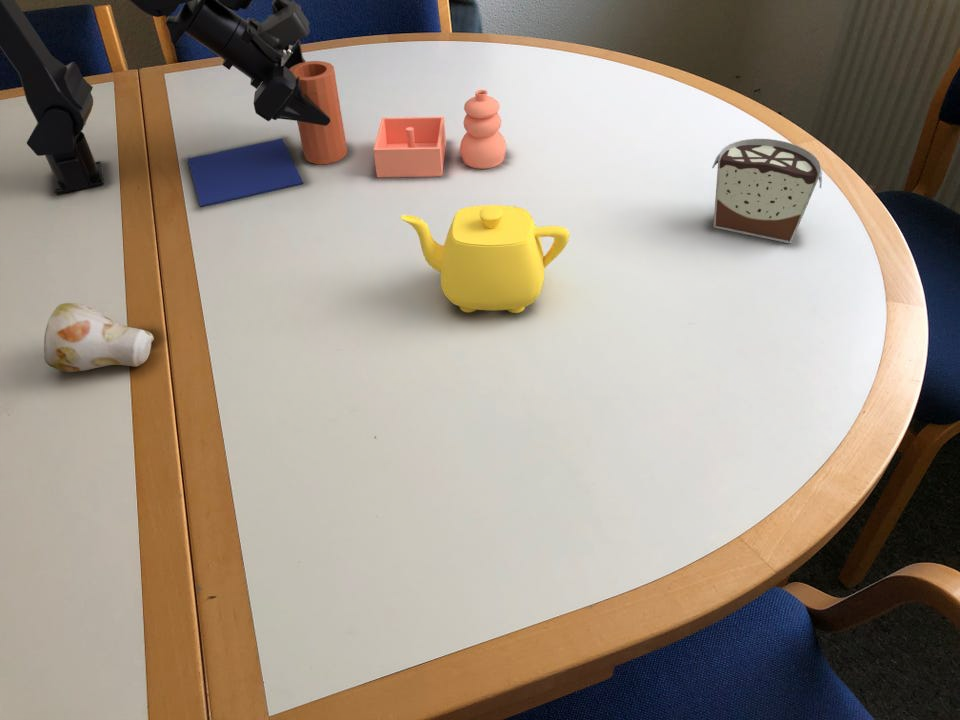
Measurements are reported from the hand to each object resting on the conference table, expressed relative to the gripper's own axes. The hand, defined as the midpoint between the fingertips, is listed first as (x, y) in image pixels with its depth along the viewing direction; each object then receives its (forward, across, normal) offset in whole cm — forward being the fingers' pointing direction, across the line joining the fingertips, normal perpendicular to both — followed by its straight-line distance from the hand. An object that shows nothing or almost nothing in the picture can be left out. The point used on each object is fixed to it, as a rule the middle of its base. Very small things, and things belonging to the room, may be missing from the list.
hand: (328, 107), depth 111 cm
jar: (+4, 0, +6) cm, 7 cm away
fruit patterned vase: (-13, -40, +23) cm, 48 cm away
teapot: (+17, -37, -7) cm, 41 cm away
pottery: (+16, -5, -6) cm, 18 cm away
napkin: (-4, -3, +14) cm, 15 cm away
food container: (+42, -30, -32) cm, 60 cm away
